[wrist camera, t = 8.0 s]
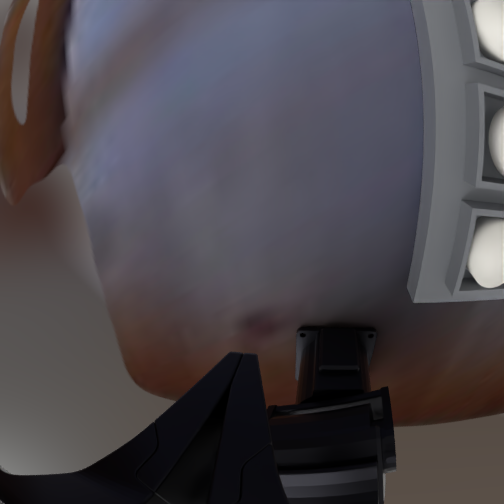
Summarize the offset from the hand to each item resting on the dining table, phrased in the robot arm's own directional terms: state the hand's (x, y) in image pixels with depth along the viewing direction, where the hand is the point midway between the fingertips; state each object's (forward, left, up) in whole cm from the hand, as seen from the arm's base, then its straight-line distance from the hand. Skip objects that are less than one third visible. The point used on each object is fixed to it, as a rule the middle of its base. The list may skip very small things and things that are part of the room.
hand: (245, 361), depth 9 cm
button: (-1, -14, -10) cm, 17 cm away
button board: (+6, -14, -12) cm, 20 cm away
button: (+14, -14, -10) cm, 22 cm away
